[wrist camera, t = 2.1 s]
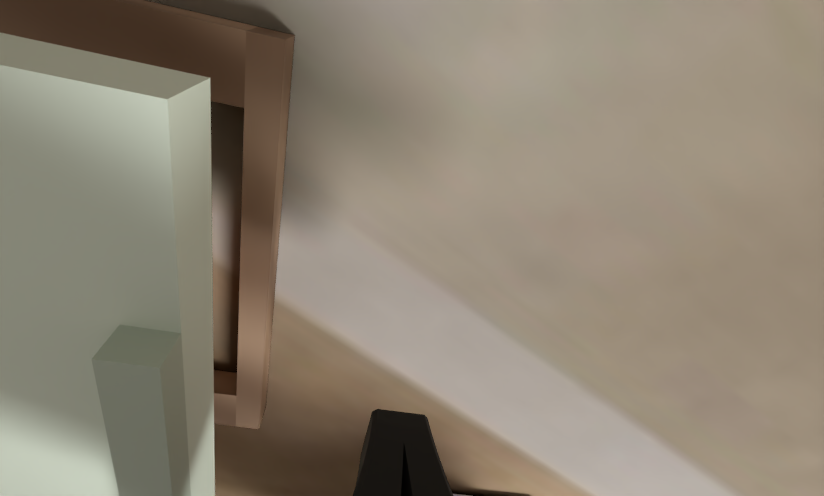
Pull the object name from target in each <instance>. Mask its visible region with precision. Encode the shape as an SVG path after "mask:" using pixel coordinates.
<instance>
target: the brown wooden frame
mask: <svg viewBox="0 0 824 496" xmlns="http://www.w3.org/2000/svg"><path fill="white" fill-rule="evenodd" d="M0 33H5V34H9V35H14V36H19V37H23V38H28V39H33V40H37V41H42V42H47V43H51V44H56V45H60V46H65V47H70V48H74V49H79V50H84V51H88V52H93V53H98V54H102V55H107V56H112V57H116V58H121V59H126V60H130V61H135V62H140V63H144V64H149V65H153V66H158V67H163V68H167V69H172V70H177V71H181V72H186V73H191V74H195V75H200V76H205V77H209V78H210V93H211V101H213V102H218V103H222V104H227V105H232V106H237V107H242V108H244V133H243V170H242V208H241V245H240V282H239V320H238V357H237V373H234V372H226V371H218V370H214V424H217V425H226V426H235V427H244V428H253V429H259V427H260V424H261V421H262V418H263V415H264V411H265V408H266V399H267V386H268V373H269V360H270V347H271V335H272V322H273V309H274V296H275V283H276V270H277V257H278V244H279V231H280V218H281V206H282V193H283V180H284V167H285V154H286V141H287V128H288V115H289V102H290V89H291V77H292V64H293V51H294V38H295V35H292V34H287V33H283V32H279V31H275V30H270V29H266V28H262V27H257V26H253V25H249V24H245V23H240V22H236V21H232V20H227V19H223V18H219V17H215V16H210V15H206V14H202V13H197V12H193V11H189V10H185V9H180V8H176V7H172V6H167V5H163V4H159V3H155V2H150V1H146V0H0Z"/></svg>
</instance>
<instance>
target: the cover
mask: <svg viewBox="0 0 824 496" xmlns="http://www.w3.org/2000/svg"><path fill="white" fill-rule="evenodd" d="M0 496H215V455H214V365H213V274H212V183H211V93H210V78H209V77H205V76H200V75H195V74H191V73H186V72H181V71H177V70H172V69H167V68H163V67H158V66H153V65H149V64H144V63H140V62H135V61H130V60H126V59H121V58H116V57H112V56H107V55H102V54H98V53H93V52H88V51H84V50H79V49H74V48H70V47H65V46H60V45H56V44H51V43H47V42H42V41H37V40H33V39H28V38H23V37H19V36H14V35H9V34H5V33H0Z"/></svg>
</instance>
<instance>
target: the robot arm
mask: <svg viewBox="0 0 824 496" xmlns="http://www.w3.org/2000/svg"><path fill="white" fill-rule="evenodd" d="M353 496H471V495H461V494H453V493H452V491H451V488H450V486H449V483H448V481H447V478H446V475H445V473H444V470H443V467H442V464H441V461H440V458H439V455H438V452H437V449H436V446H435V443H434V440H433V437H432V433H431V430H430V426H429V422H428V419H427V417H426V416H425V415H420V414H412V413H404V412H396V411H388V410H380V409H377V410H375V411H372V414H371V418H370V422H369V426H368V430H367V433H366V437H365V441H364V445H363V449H362V452H361V457H360V465H359V471H358V477H357V482H356V487H355V491H354V493H353Z"/></svg>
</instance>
